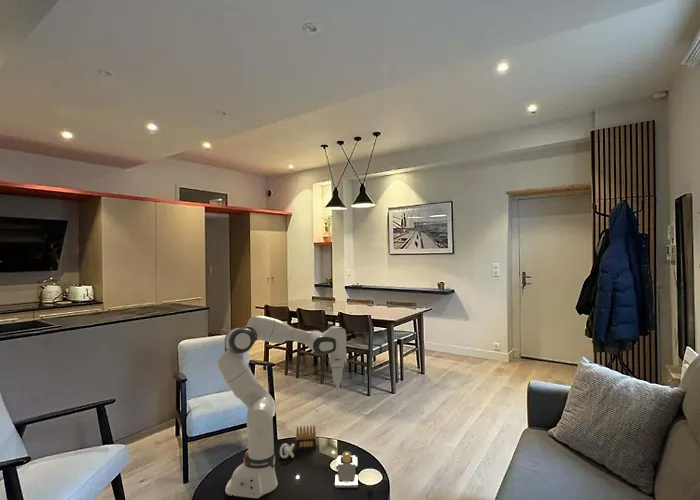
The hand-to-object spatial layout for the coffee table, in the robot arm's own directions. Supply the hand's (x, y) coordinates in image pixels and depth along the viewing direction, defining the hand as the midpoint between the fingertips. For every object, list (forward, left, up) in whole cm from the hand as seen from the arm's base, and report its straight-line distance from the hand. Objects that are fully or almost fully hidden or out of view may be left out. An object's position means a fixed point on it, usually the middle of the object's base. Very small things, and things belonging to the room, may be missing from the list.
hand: (338, 386), depth 197 cm
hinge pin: (+4, -10, -37) cm, 39 cm away
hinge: (+4, -10, -37) cm, 39 cm away
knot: (-26, +6, -37) cm, 46 cm away
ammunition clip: (-18, +14, -37) cm, 44 cm away
